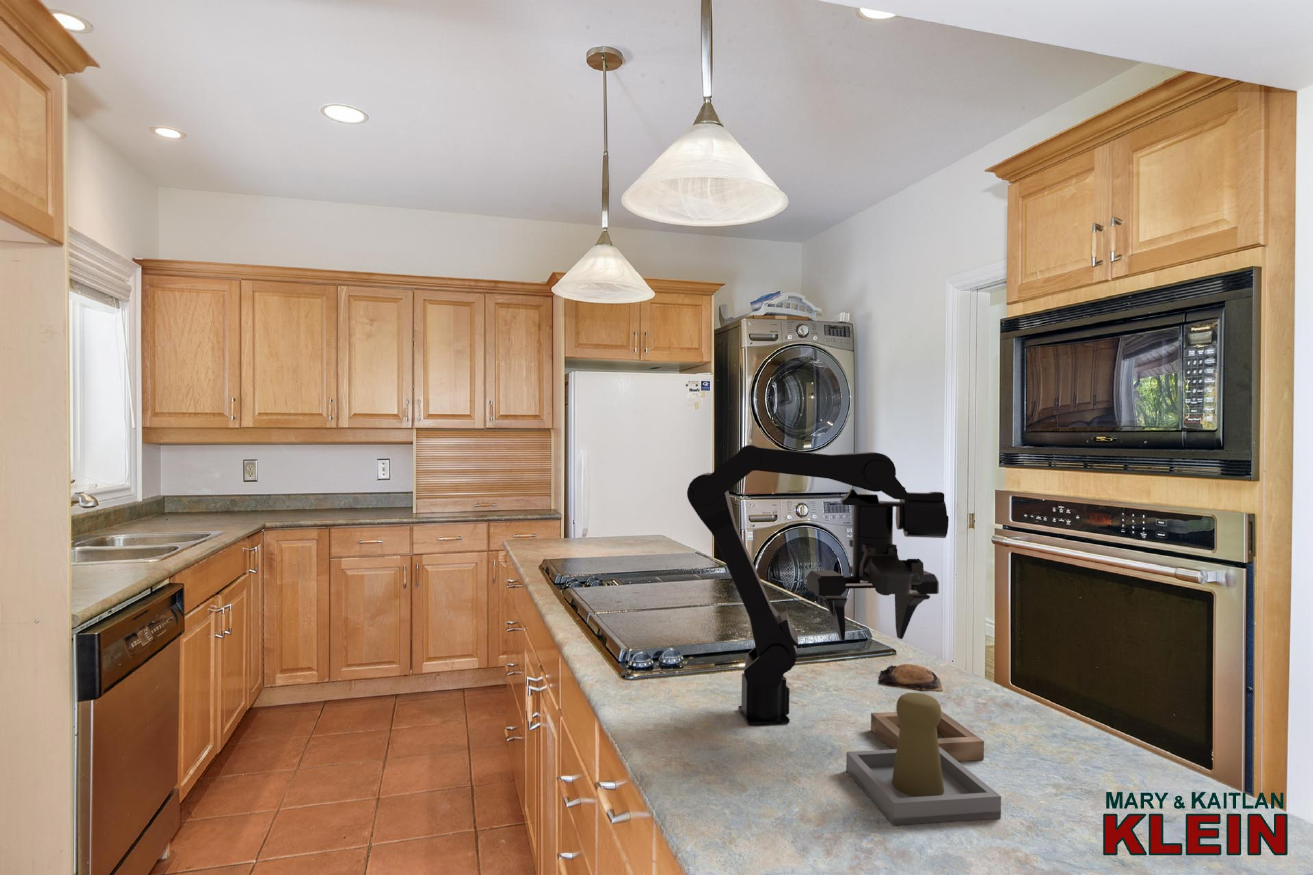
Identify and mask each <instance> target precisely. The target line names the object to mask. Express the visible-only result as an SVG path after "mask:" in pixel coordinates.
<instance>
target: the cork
mask: <svg viewBox="0 0 1313 875" xmlns="http://www.w3.org/2000/svg"><path fill="white" fill-rule="evenodd" d="M895 709H896V711H895V712H897V715H898V717H899V719H900V721H901V724H900V731H899V738H898V744H897V751H896V758H895V765H894V771H893V778H892V784H893V786H894V787H895V788H896V789H897V790H899V791H900V792H902V793H904V794H907V795H910V796H913V797H924V796H940V795H943V793H944V785H943V777H942V769H941V760H940V752H939V744H938V737H939V736H938V732H937V728H936V726H937V725H938V724H939V722H940V720H941V711H942V708H941V703H940V702H939V701H938V700H937V698H935V697H933V696H931V695H928V694H925V693H921V692H906V693H904V694H901V695H900V696H899V697H898V698H897V702H896V708H895Z"/></svg>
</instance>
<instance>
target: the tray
mask: <svg viewBox="0 0 1313 875" xmlns="http://www.w3.org/2000/svg"><path fill="white" fill-rule="evenodd" d="M896 751H897V749H891V748H890V749H874V750H856V751H855V750H854V751H853V750H852V751H846V755H845V756H846V758H845V759H846V760H845V763H846V764H845V765H846V766H845V770H846V772H847V774H848V775H849V776H850V777H851V778H852V779H853V781H854V782H855V783H856V784H857V785H858V786H859V788H860V789H862V791H863V792H864V793H865V794H866V795H867V797H868V798H869V799H870V800H871V802H873V804H874V805H875V806H876V807H877V808H878V809H879V810H880V812H882V814H883V815H884V816H885V817H886V819H887V820H888V821H889V822H890V823H891V825H892V826H905V825H919V824H920V825H921V824H922V825H923V824H932V823H933V824H937V823H948V822H949V823H950V822H951V823H953V822H961V821H962V822H964V821H967V822H968V821H979V820H980V821H981V820H992V819H993V820H994V819H1002V817H1001V816H1002V796H1001V795H1000V794H999V793H997V791H995V790H994V789H993V788H991V787H990V786H989V785H988V784H987V783H985V782H984V781H983V780H982V779H980V778H979V777H978V776H977V775H976V774H974V773H973V772H972V771H970V770H969V769H968V768H967V767H965V766H964V765H963V764H962V763H960V761H957V760H955V759H954V758H953V757H952V756H950V755H949V754H948V753H947V752H946V751H944V750H943V749H942V748H941V747H939V752H940V760H941V769H942V777H943V785H944V793H943V795H940V796H924V797H913V796H910V795H907V794H904V793H902V792H900V791H899V790H897V789H896V788H895V787H894V786H893V784H892V778H893V771H894V765H895V758H896Z"/></svg>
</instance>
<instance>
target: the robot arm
mask: <svg viewBox="0 0 1313 875" xmlns="http://www.w3.org/2000/svg"><path fill="white" fill-rule="evenodd" d="M754 471H757V472H758V471H759V472H767V473H775V474H776V473H777V474H785V475H795V476H802V477H803V476H804V477H812V478H820V479H829V480H833V481H837V482H840V483H842V484H846V485H849V486H852V487H856V488H859V489H862V490H866V491H869V492H875V494H872V493H871V494H870V493H869V494H868V493H867V494H866V493H857V492H856V491H855V489H853V488H850V489H849V490H848V493H846V495H844V496H843V497H842V498H841V499H840V503H841V505H843V506H853V511H852V514H853V516H852V518H853V520H852V523H853V524H852V526H853V527H852V539H849V544H848V545H849V547H851V548H852V566H851V565H849V566H848V569H849V570H848V573H849V574H851V575H843V574H841V573H838V572H837V571H835V570H832V569H819V570H817V569H816V570H815V569H814V570H810V571H809V572H808V574H807V576H806V585H805V586H806V589H808V591H811V592H812V593H814V594H815V595H817V596H818V597H819V598H821V599H822V600H823V603H824V604H825V607H826V608H827V610H828V612H829V615H830V618H831V620H832V623H833V626H834V628H835V631H836V634H837V636H838V639H839V640H840V641H842V642H843V641H845V640H846V639H845V638H846V615H845V614H846V612H845V611H846V610H845V606H846V604H847V602H848V597H846V596H844V595H843V594H844V593H845V592H846V590H847V589H852V590H853V589H874V590H875V592H876V593H877V594H879V595H881V596H890V595H894V614H895V615H894V617H895V619H894V620H895V623H894V624H895V631H896V637H897V638H898V639H899V640H903V639H904V637H905V635H906V632H907V629H908V626H909V624H910V621H911V619H912V617H913V615H914V613H915V610H916V609H917V607H918V606H919V605H920V604H921V603H922V602H924V601H925V600H930V598H931V595H939V591H940V590H939V589H940V583H939V579H938V577H937V576H936V575H935V574H934V573H931V572H929V571H927V570H925V569H924V562H923V561H922V560H921V559H920V558H907V559H899V555H898V548H897V546H898V545H897V544H894V543H893V532H894V528H893V527H894V521H893V520H894V519H893V518H894V508H895V526H896V530H898V531H899V530H902V532H903V535H904V537H905V538H906V537H907V538H928V539H929V538H930V539H931V538H932V539H933V538H934V539H946V538H947V536H948V531H949V515H948V510H947V504H946V500H945V493H944V492H941V491H930V492H912V491H911V492H909V491H907V490H906V487H905V486H903V485H902V484H901V482H900V481H899V480H898V478H897V477H896V475H897V470H896V466H895V464H894V462H893V461H892V459H891V458H890V457H889V456H888V455H886V454H884V453H880V452H875V451H866V452H852V453H851V452H849V453H837V454H826V453H815V452H808V451H807V452H806V451H798V450H797V451H795V450H788V449H781V448H780V449H779V448H769V447H760V446H757V445H754V444H748V445H747V444H746V445H744V446H742V447H741V448H740V449H739V450H738V452H737V453H736V454H735V455H733V456H731V458H729V459H728V460H727V461H725V462H724V463H723V464H722V465H721V466H719V467H718V468H717V469H716V470H714V471H713V472H705V473H702V474H700V475H697V476H696V477H695V478H693V479H692V480H691V482H690V483H689V484H688V487H687V491H686V496H687V500H688V502H689V504H690V506H691V507H692V508H693V510H694V512H695V513H696V515H697V516H698V518H699V519H700V520H701V522H702V523H703V524H704V525H705V526H706V528H707V529H708V530H709V531H710V533H711V535H712V536H713V539H714V540H715V542H716V545H717V547H718V549H719V551H720V553H721V557H722V559H723V561H724V563H725V565H726V567H727V569H728V572H729V574H730V577H731V579H732V581H733V583H734V585H735V587H736V588H735V589H736V590H737V593H738V595H739V597H740V599H741V601H742V604H743V606H744V608H745V610H746V613H747V615H748V618H749V621H750V626H751V627H750V628H751V631H752V638H753V642H754V647H753V648H752V649H751V650H749V652H748V653H746V656H745V663H744V668H743V669H744V670H743V673H741V705H738V707H737V709H738V711H739V713H740V714H741V716H742V717H743V718H744V720H745V722H746V723H747V724H748V725H749V726H754V725H755V726H756V725H773V724H775V725H776V724H780V725H781V724H789V723H790V721H791V720H790V718H789V717H788V715H789V714H790V695H791V694H790V687H788V686H787V678H786V676H785V675H784V674H786V673H788V672H789V671H791V670H792V669H793V668H794V667H795V664H796V662H797V658H798V657H797V654H798V653H797V647H799V637H798V635H799V634H798V633H799V632H798V631H796V630H795V629H794V627H793V625H792V624H791V620H790V616H789V612H788V611H787V610H785V611H784V612H782V613H779V612H778V611H777V610H776V608H775V607H774V606H773V604H772V603H771V600H770V599H769V596H768V594H767V592H766V589H765V586H764V585H763V582H762V580H761V578H760V576H759V573H758V571H757V569H756V567H755V565H754V563H753V560H752V558H751V555H750V553H749V550H748V549H747V547H746V545H745V542H744V540H743V538H742V535H741V533H740V530H739V528H738V526H737V524H736V519H735V515H734V509H733V504H732V500H731V495H730V492H729V491H730V489H732V488H733V487H735V485H737V484H738V483H739V482H740V481H742V480H743V479H745V478H746V477H747V476H748V475H750V474H751V473H752V472H754ZM877 492H882V493H883V494H884V495H886V496H888V497H890V498H892V499H893V500H899V501H893V500H892V501H886V500H879V496H878V494H876V493H877Z"/></svg>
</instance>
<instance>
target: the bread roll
mask: <svg viewBox="0 0 1313 875" xmlns="http://www.w3.org/2000/svg"><path fill="white" fill-rule="evenodd" d="M879 674H880V675H878V680H877V681H878V682H879V683H880V685H881V686H886V687H893V688H900V689H909V690H915V691H917V690H918V691H922V692H923V691H929V692H943V691H944V689H943V686H942V682H941V678H940V677H938V676H937V674H935V673H934V672H933V671H932V670H930V669H928V668H927V667H924V666H921V665H918V664H911V663H908V664H907V663H905V664H903V663H902V664H898V665H892V664H891V665H889V666H887V667H886V669H884V670H880V672H879Z"/></svg>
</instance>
